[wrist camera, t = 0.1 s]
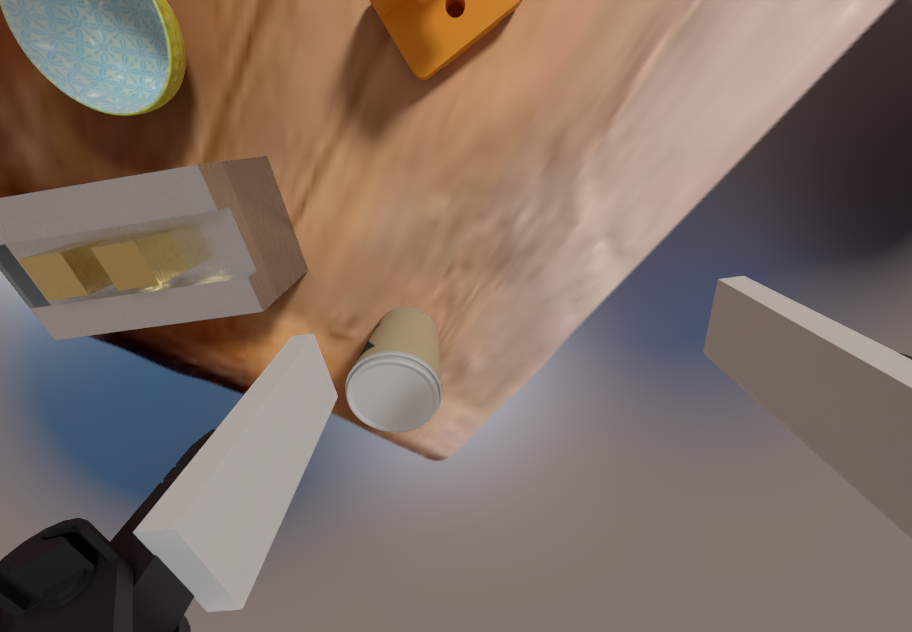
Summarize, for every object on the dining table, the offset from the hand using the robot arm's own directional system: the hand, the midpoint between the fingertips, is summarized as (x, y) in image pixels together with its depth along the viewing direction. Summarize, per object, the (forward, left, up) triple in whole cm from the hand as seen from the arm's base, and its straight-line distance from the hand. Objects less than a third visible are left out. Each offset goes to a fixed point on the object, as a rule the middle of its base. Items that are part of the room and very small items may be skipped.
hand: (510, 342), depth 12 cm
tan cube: (-1, -27, -19) cm, 33 cm away
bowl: (-17, -26, -28) cm, 42 cm away
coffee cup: (+15, -10, -28) cm, 33 cm away
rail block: (-1, -30, -28) cm, 41 cm away
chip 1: (-1, -33, -19) cm, 38 cm away
